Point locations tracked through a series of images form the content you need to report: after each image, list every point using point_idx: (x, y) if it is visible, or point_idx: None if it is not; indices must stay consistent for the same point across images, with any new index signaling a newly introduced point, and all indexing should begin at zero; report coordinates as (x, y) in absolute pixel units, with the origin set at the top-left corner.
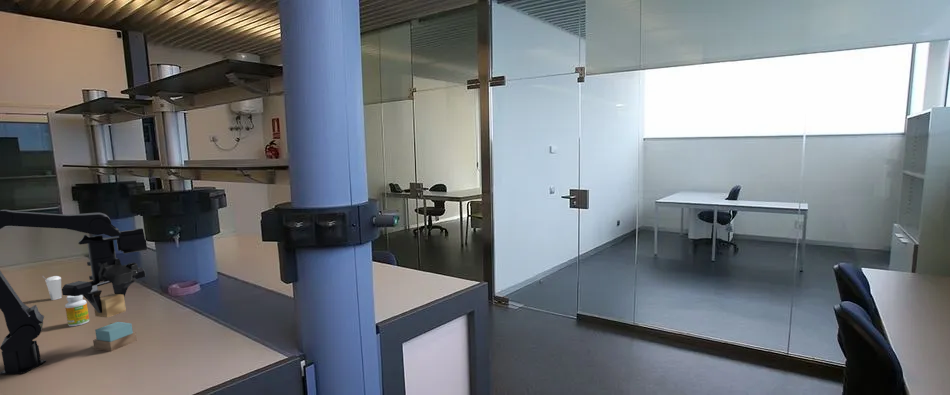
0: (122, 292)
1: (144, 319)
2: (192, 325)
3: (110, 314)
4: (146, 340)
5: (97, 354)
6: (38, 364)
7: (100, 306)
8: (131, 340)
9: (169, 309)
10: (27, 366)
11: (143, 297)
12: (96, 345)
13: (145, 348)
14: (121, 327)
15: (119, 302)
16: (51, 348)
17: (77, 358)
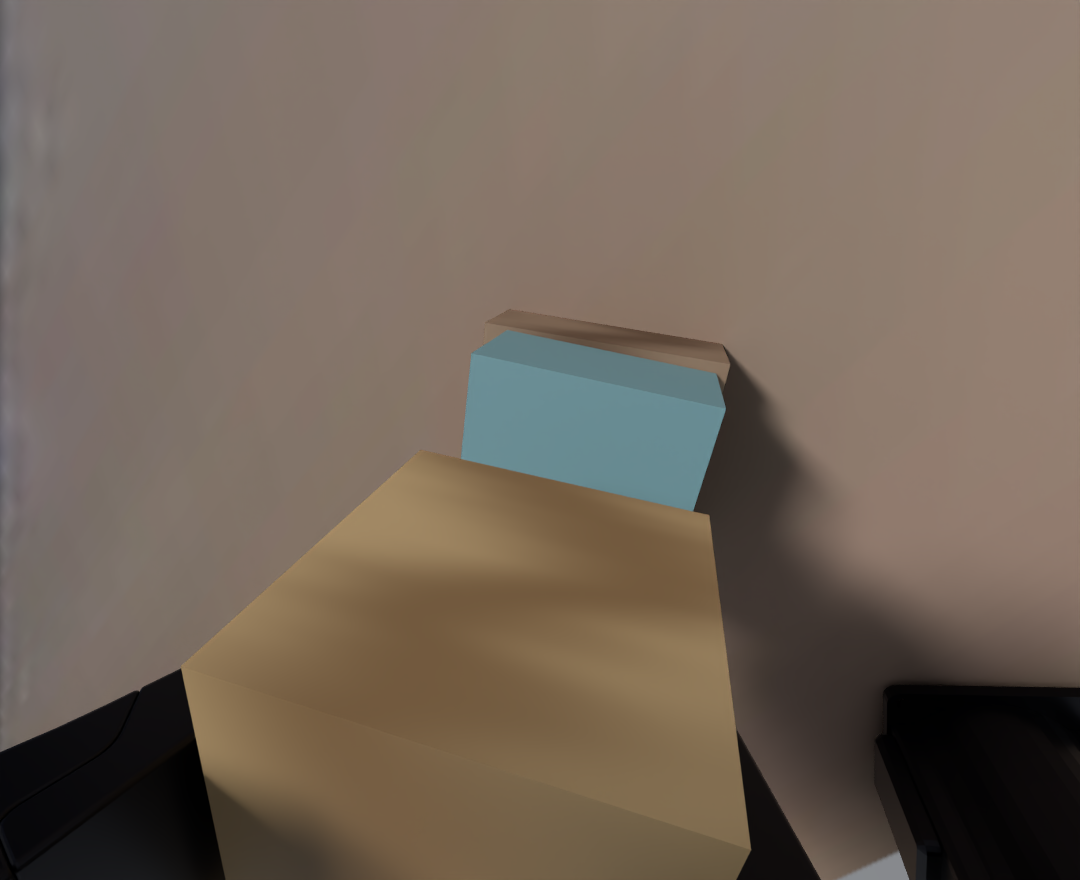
0: (115, 778)
1: (220, 577)
2: (151, 35)
3: (656, 520)
4: (495, 211)
5: (780, 416)
6: (966, 692)
7: None
8: (545, 319)
9: (69, 541)
10: (1047, 725)
11: None
12: None
13: (666, 9)
14: (583, 378)
15: (416, 578)
16: None
17: (845, 517)
